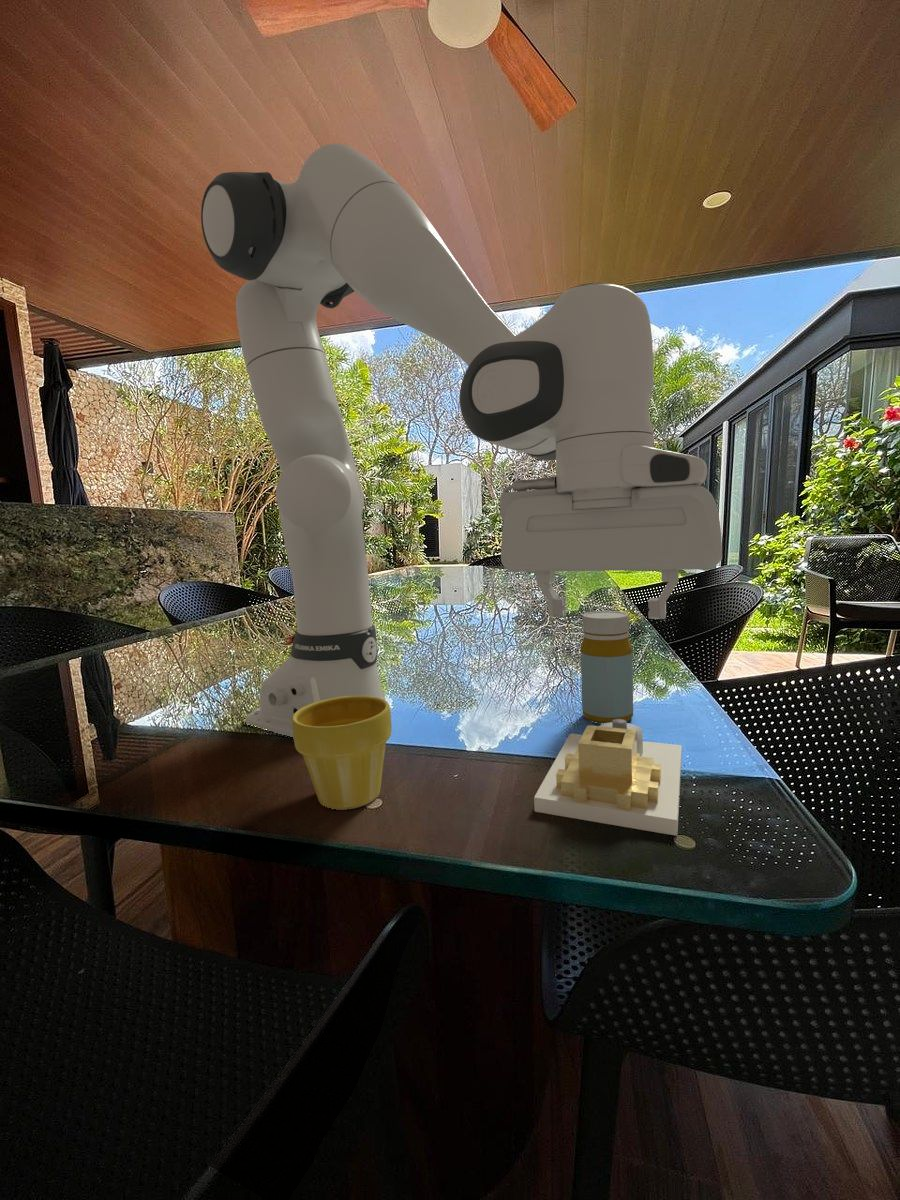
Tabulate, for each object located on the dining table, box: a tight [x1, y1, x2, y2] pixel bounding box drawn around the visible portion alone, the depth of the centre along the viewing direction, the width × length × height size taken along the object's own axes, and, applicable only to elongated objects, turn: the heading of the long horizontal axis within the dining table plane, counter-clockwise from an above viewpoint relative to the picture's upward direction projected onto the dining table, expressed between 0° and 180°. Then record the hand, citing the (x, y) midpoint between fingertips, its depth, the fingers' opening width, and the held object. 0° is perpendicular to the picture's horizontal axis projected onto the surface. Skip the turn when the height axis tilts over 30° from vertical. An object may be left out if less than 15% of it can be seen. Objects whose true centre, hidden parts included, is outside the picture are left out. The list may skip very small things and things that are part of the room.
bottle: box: [580, 610, 634, 724], centre depth 76 cm, size 7×7×15 cm
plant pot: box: [292, 696, 392, 811], centre depth 58 cm, size 10×10×10 cm
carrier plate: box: [533, 719, 683, 837], centre depth 58 cm, size 13×17×5 cm
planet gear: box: [556, 724, 661, 811], centre depth 54 cm, size 10×10×5 cm
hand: (605, 616), depth 52 cm, fingers open, 8 cm apart
